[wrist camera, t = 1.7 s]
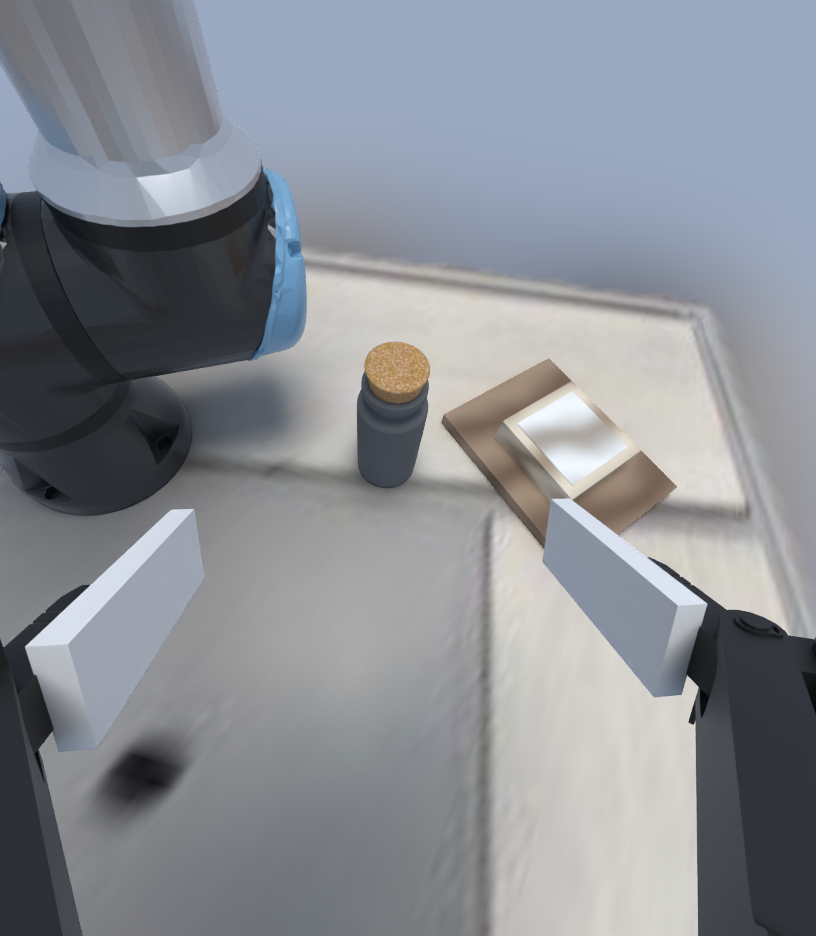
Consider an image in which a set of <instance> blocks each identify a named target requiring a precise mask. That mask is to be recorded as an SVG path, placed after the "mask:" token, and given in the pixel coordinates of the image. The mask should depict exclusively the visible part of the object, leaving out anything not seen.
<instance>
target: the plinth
mask: <svg viewBox="0 0 816 936" xmlns="http://www.w3.org/2000/svg"><path fill="white" fill-rule="evenodd" d="M442 423H443V425H444V426H445V427H446V428H447V430H448V431H449V432H450V433H451V434H452V436H453V437H454V438H455V439H456V441H457V442H458V443H459V444H460V446H461V447H462V448H463V449H464V450H465V452H466V453H467V454H468V455H469V457H470V458H471V459H472V460H473V462H474V463H475V464H476V465H477V466H478V468H479V469H480V470H481V471H482V473H483V474H484V475H485V476H486V478H487V479H488V480H489V481H490V482H491V484H492V485H493V486H494V487H495V489H496V490H497V491H498V492H499V494H500V495H501V496H502V497H503V498H504V500H505V501H506V502H507V503H508V505H509V506H510V507H511V508H512V509H513V511H514V512H515V513H516V514H517V516H518V517H519V518H520V519H521V521H522V522H523V523H524V524H525V525H526V527H527V528H528V529H529V530H530V532H531V533H532V534H533V535H534V537H535V538H536V539H537V540H538V541H539V543H540V544H541V545H542V546H543V548H544V547H545V540H546V532H547V525H548V518H549V510H550V503H551V499H567V498H570V499H571V500H572V501H574V502H575V503H576V504H578V505H579V506H580V507H582V508H583V509H584V510H586V511H587V512H588V513H589V514H591V515H592V516H593V517H595V518H596V519H597V520H599V521H600V522H601V523H603V524H604V525H605V526H606V527H608V528H609V529H610V530H612V531H613V532H614V533H616V534H617V535H618V534H619V533H621V532H622V531H623V530H624V529H626V528H627V527H628V526H629V525H630V524H632V523H633V522H634V521H635V520H637V519H638V518H639V517H640V516H642V515H643V514H644V513H645V512H647V511H648V510H649V509H650V508H652V507H653V506H654V505H655V504H657V503H658V502H659V501H660V500H662V499H663V498H664V497H665V496H667V495H668V494H669V493H670V492H672V491H673V490H674V489H675V488H677V486H676V485H675V484H674V483H673V482H672V481H671V480H670V479H669V478H668V477H667V476H666V475H665V474H664V473H663V472H662V471H661V470H660V469H659V468H658V467H657V466H656V465H655V464H654V463H653V462H652V461H651V460H650V459H649V458H648V457H647V456H646V455H645V454H644V453H643V452H642V451H641V450H640V449H639V448H638V447H637V446H636V445H635V444H634V443H633V442H632V441H631V440H630V439H629V438H628V437H627V436H626V435H625V434H624V433H623V432H622V431H621V430H620V429H619V428H618V427H617V426H616V425H615V424H614V423H613V422H612V421H611V420H610V419H609V418H608V417H607V416H606V415H605V414H604V413H603V412H602V411H601V410H600V409H599V408H598V407H597V406H596V405H595V404H594V403H593V402H592V401H591V400H590V399H589V398H588V397H587V396H586V395H585V394H584V393H583V392H582V391H581V390H580V389H579V388H578V387H577V386H576V385H575V384H574V383H573V382H572V381H571V380H570V379H569V378H568V377H567V376H566V375H565V374H564V373H563V372H562V371H561V370H560V369H559V368H558V367H557V366H556V365H555V364H554V363H553V362H552V361H551V360H550V359H547V360H545V361H543V362H541V363H539V364H537V365H536V366H534V367H532V368H530V369H528V370H526V371H524V372H523V373H521V374H519V375H517V376H515V377H513V378H511V379H509V380H508V381H506V382H504V383H502V384H500V385H498V386H496V387H495V388H493V389H491V390H489V391H487V392H485V393H483V394H482V395H480V396H478V397H476V398H474V399H472V400H470V401H469V402H467V403H465V404H463V405H461V406H459V407H457V408H456V409H454V410H452V411H450V412H448V413H446V414H444V416H443V420H442Z"/></svg>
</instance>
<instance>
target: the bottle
mask: <svg viewBox="0 0 816 936" xmlns="http://www.w3.org/2000/svg"><path fill="white" fill-rule="evenodd" d="M364 368H365V372H364V374H363V377H362V390H361V391H360V393H359V396H358V401H357V444H358V465H359V469H360V472H361V473H362V475H363V477H364V478H365V479H366V480H367V481H368V482H370V483H372V484H374V485H376V486H379V487H385V488H387V487H394V486H398V485H400V484H402V483H403V482H405V481H406V480H407V479H408V478H409V477H410V475H411V473H412V471H413V468H414V465H415V461H416V458H417V454H418V450H419V446H420V442H421V438H422V434H423V430H424V426H425V422H426V417H427V413H428V401H427V394H428V390H429V383H428V378H429V374H430V366H429V362H428V360H427V358H426V356H425V355H424V354H423V353H422V352H421V351H420V350H419V349H417V348H416V347H414V346H412V345H409V344H406V343H402V342H388V343H384V344H381V345H379V346H377V347H375V348H374V349H373V350H371V351H370V352H369V354H368V355H367V357H366V360H365V366H364Z"/></svg>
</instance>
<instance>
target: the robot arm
mask: <svg viewBox="0 0 816 936" xmlns="http://www.w3.org/2000/svg"><path fill="white" fill-rule="evenodd" d="M0 65H1V67H2V69H3V70H4V72H5V74H6V75H7V77H8V79H9V81H10V82H11V84H12V86H13V87H14V89H15V91H16V93H17V94H18V96H19V98H20V99H21V101H22V103H23V104H24V106H25V108H26V110H27V111H28V113H29V115H30V116H31V118H32V120H33V122H34V123H35V125H36V126H37V128H38V135H37V138H36V141H35V144H34V147H33V150H32V153H31V156H30V159H29V165H28V169H29V177H30V179H31V181H32V183H33V184H34V186H35V188H36V190H37V191H35V192H23V193H6V192H5V191H4V189H3V186H2V184H1V183H0V464H1V466H2V467H3V468H4V470H5V471H6V473H7V474H8V476H9V477H10V479H11V480H12V482H13V483H14V484H15V485H16V486H17V487H18V488H19V489H20V490H21V491H23V492H24V493H25V494H27V495H28V496H30V497H31V498H33V499H35V500H37V501H38V502H40V503H42V504H44V505H46V506H48V507H50V508H52V509H55V510H57V511H61V512H64V513H69V514H78V515H93V514H102V513H108V512H112V511H116V510H119V509H123V508H125V507H128V506H131V505H133V504H135V503H137V502H139V501H141V500H143V499H145V498H147V497H148V496H150V495H151V494H153V493H154V492H156V491H157V490H158V489H160V488H161V487H162V486H163V485H164V484H165V483H167V482H168V481H169V480H170V479H171V477H172V476H173V475H174V474H175V473H176V472H177V470H178V469H179V467H180V466H181V464H182V463H183V461H184V459H185V457H186V455H187V453H188V450H189V447H190V443H191V437H192V426H191V421H190V417H189V414H188V412H187V410H186V408H185V407H184V405H183V404H182V402H181V401H180V399H179V398H178V396H177V395H176V393H175V392H174V391H173V390H172V389H171V388H170V387H169V386H168V385H167V384H166V383H165V382H163V381H162V380H160V379H159V378H157V377H156V376H158V375H164V374H170V373H175V372H181V371H187V370H193V369H198V368H204V367H210V366H216V365H221V364H227V363H233V362H238V361H244V360H248V361H251V360H255V359H257V358H259V357H260V356H262V355H266V354H270V353H274V352H278V351H282V350H286V349H289V348H291V347H292V346H294V345H295V344H296V343H297V342H298V341H299V340H300V338H301V336H302V334H303V331H304V328H305V323H306V313H307V292H306V275H305V265H304V259H303V256H302V254H301V238H300V229H299V223H298V218H297V213H296V210H295V205H294V201H293V198H292V195H291V192H290V190H289V187H288V185H287V182H286V180H285V179H284V178H283V177H282V176H281V175H280V174H279V173H277V172H272V171H270V170H269V169H264V168H263V167H262V162H261V157H260V153H259V149H258V147H257V145H256V143H255V142H254V140H253V139H252V138H251V136H250V135H249V134H247V133H246V132H245V131H244V130H243V129H242V128H241V127H239V126H238V125H237V124H236V123H235V122H234V121H232V120H231V119H230V118H229V117H228V116H227V115H225V114H224V113H223V112H222V111H221V107H220V103H219V99H218V95H217V90H216V87H215V83H214V79H213V75H212V70H211V66H210V62H209V59H208V55H207V50H206V47H205V43H204V38H203V35H202V31H201V27H200V22H199V18H198V14H197V10H196V6H195V2H194V0H0ZM543 563H544V564H545V565H546V566H547V568H548V569H549V570H550V571H551V573H552V574H553V575H554V576H555V577H556V579H557V580H558V581H559V582H560V583H561V585H562V586H563V587H564V588H565V590H566V591H567V592H568V593H569V594H570V596H571V597H572V598H573V599H574V601H575V602H576V603H577V604H578V605H579V607H580V608H581V609H582V610H583V611H584V613H585V614H586V615H587V616H588V618H589V619H590V620H591V621H592V622H593V624H594V625H595V626H596V627H597V628H598V630H599V631H600V632H601V633H602V635H603V636H604V637H605V638H606V639H607V641H608V642H609V643H610V644H611V646H612V647H613V648H614V649H615V650H616V652H617V653H618V654H619V655H620V656H621V658H622V659H623V660H624V661H625V663H626V664H627V665H628V666H629V667H630V669H631V670H632V671H633V672H634V673H635V675H636V676H637V677H638V678H639V680H640V681H641V682H642V683H643V684H644V686H645V687H646V688H647V689H648V691H649V692H650V693H651V694H652V695H653V697H662V696H673V695H682V691H683V688H684V684H685V681H686V677H687V675H688V676H689V677H690V678H691V679H692V680H693V681H694V683H695V684H696V685H697V686H698V687H699V689H698V692H697V695H696V699H695V702H694V705H693V708H692V712H691V715H690V718H689V722H688V723H691V724H693V725H694V723H695V720H696V793H697V872H698V936H816V638H815V639H808V638H801V637H795V636H788V635H787V633H786V632H785V631H784V630H783V629H782V628H781V627H779V626H778V625H777V624H775V623H773V622H772V621H770V620H768V619H766V618H764V617H761V616H759V615H756V614H753V613H750V612H746V611H741V610H726V609H725V608H723V607H722V606H721V605H719V604H718V603H717V602H715V601H714V600H713V599H711V598H710V597H709V596H707V595H706V594H705V593H703V592H702V591H700V590H699V589H698V588H696V587H695V586H694V585H691V583H690V582H688V581H687V580H686V579H684V578H683V577H680V575H679V574H678V573H676V572H675V571H674V570H672V569H671V568H669V567H668V566H667V565H665V564H663V563H661V562H658V561H656V560H654V559H652V558H650V557H646V556H644V555H643V554H642V553H640V552H639V551H638V550H637V549H635V548H634V547H633V546H631V545H630V544H629V543H627V542H626V541H625V540H623V539H622V538H621V537H620V536H618V535H617V534H616V533H614V532H613V531H612V530H610V529H609V528H608V527H606V526H605V525H604V524H603V523H601V522H600V521H599V520H597V519H596V518H595V517H593V516H592V515H591V514H589V513H588V512H587V511H586V510H584V509H583V508H582V507H580V506H579V505H578V504H576V503H575V502H574V501H572V500H571V499H570V498H567V499H551V503H550V510H549V518H548V525H547V532H546V540H545V547H544V555H543ZM204 578H205V576H204V570H203V563H202V557H201V550H200V544H199V537H198V530H197V524H196V517H195V511H194V509H177V510H170V511H169V512H168V513H167V514H166V515H165V516H164V517H163V518H162V519H161V520H159V521H158V522H157V523H156V524H155V525H154V526H153V527H152V528H151V529H150V530H149V531H148V532H147V533H146V534H145V535H143V536H142V537H141V538H140V539H139V540H138V541H137V542H136V543H135V544H134V545H133V546H132V547H131V548H130V549H129V550H128V551H126V552H125V553H124V554H123V555H122V556H121V557H120V558H119V559H118V560H117V561H116V562H115V563H114V564H113V565H112V566H110V567H109V568H108V569H107V570H106V571H105V572H104V573H103V574H102V575H101V576H100V577H99V578H98V579H97V580H96V581H95V582H93V583H92V584H91V585H82V586H80V587H78V588H76V589H75V590H73V591H71V592H69V593H67V594H66V595H64V596H62V597H60V598H59V599H58V600H57V601H56V602H55V603H54V604H53V605H51V606H50V607H49V608H48V609H47V610H46V613H42V614H41V615H40V616H39V617H38V618H37V619H36V620H34V621H33V624H30V625H29V626H28V627H27V628H25V629H24V630H23V631H22V632H21V633H20V634H19V635H18V636H16V637H15V638H14V639H13V640H12V641H11V642H10V643H8V644H7V645H6V646H5V647H4V648H3V646H2V643H1V640H0V936H82V931H81V927H80V922H79V918H78V914H77V909H76V905H75V901H74V896H73V892H72V888H71V883H70V879H69V875H68V870H67V866H66V862H65V857H64V853H63V849H62V844H61V840H60V836H59V831H58V827H57V822H56V818H55V814H54V809H53V805H52V801H51V796H50V792H49V788H48V783H47V779H46V775H45V770H44V766H43V762H42V758H41V755H40V753H39V750H38V749H39V748H40V746H41V745H42V744H43V743H44V741H45V740H46V739H47V737H48V736H49V735H50V733H51V732H53V735H54V738H55V741H56V744H57V747H58V750H59V752H62V751H73V750H84V749H95V748H98V747H99V745H100V744H101V742H102V740H103V739H104V737H105V736H106V734H107V732H108V731H109V729H110V728H111V726H112V725H113V723H114V721H115V720H116V718H117V717H118V715H119V713H120V712H121V710H122V709H123V707H124V705H125V704H126V702H127V701H128V699H129V697H130V696H131V694H132V693H133V691H134V689H135V688H136V686H137V685H138V683H139V681H140V680H141V678H142V677H143V675H144V673H145V672H146V670H147V669H148V667H149V666H150V664H151V662H152V661H153V659H154V658H155V656H156V654H157V653H158V651H159V650H160V648H161V646H162V645H163V643H164V642H165V640H166V638H167V637H168V635H169V634H170V632H171V630H172V629H173V627H174V626H175V624H176V622H177V621H178V619H179V618H180V616H181V615H182V613H183V611H184V610H185V608H186V607H187V605H188V603H189V602H190V600H191V599H192V597H193V595H194V594H195V592H196V591H197V589H198V587H199V586H200V584H201V583H202V581H203V579H204Z"/></svg>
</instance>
